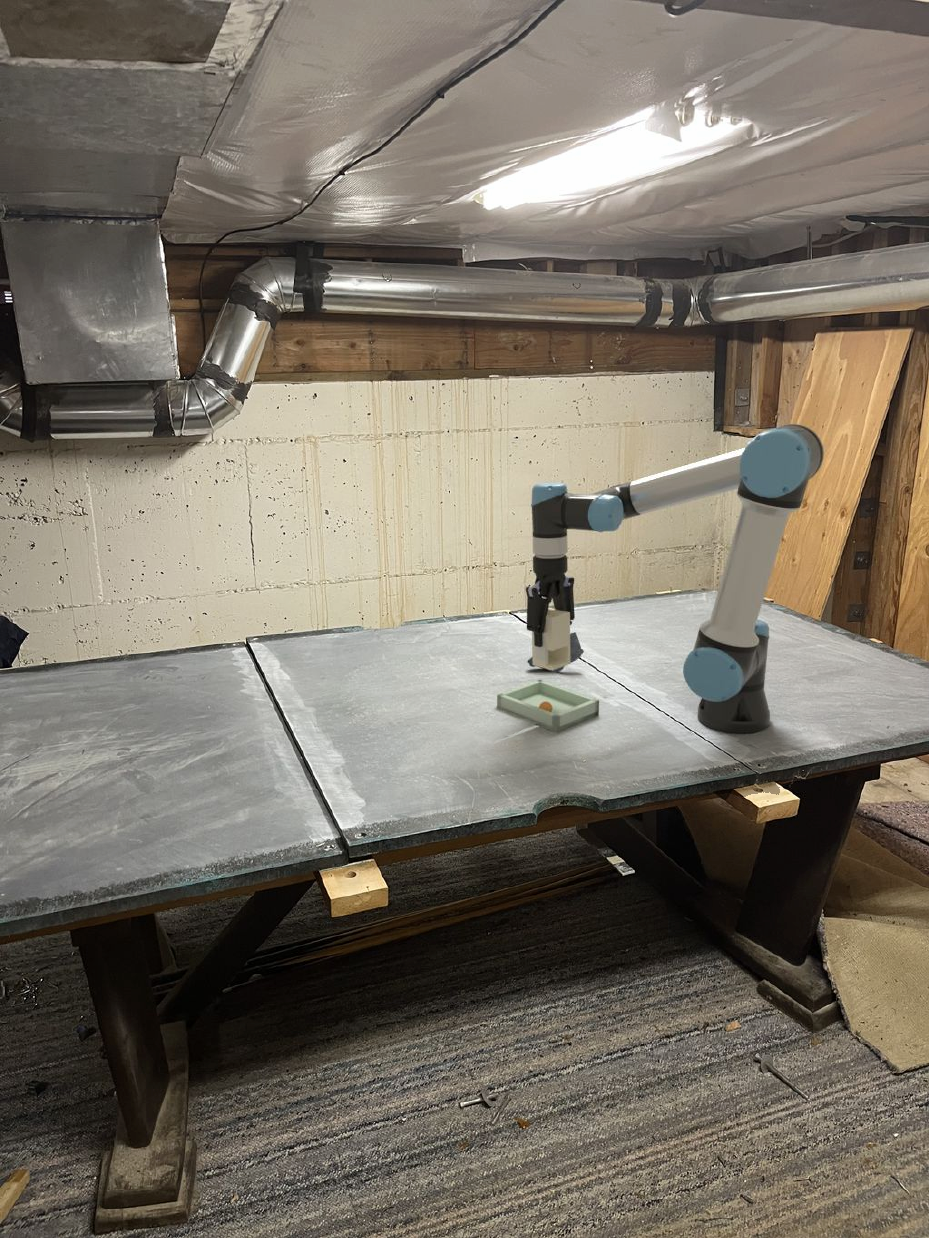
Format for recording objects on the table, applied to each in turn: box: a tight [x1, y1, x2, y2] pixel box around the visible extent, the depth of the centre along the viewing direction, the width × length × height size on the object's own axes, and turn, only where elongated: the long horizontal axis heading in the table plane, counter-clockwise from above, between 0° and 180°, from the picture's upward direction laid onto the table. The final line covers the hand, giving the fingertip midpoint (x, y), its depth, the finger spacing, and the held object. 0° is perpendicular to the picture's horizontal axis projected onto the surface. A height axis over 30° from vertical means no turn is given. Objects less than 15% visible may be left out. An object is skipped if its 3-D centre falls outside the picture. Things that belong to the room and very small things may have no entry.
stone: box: [527, 632, 585, 674], centre depth 226 cm, size 14×6×10 cm, turn 113°
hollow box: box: [531, 607, 571, 671], centre depth 200 cm, size 6×6×12 cm
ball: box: [539, 702, 553, 712], centre depth 197 cm, size 3×3×3 cm
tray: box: [496, 679, 600, 733], centre depth 201 cm, size 18×14×4 cm
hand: (551, 655), depth 201 cm, fingers closed on hollow box, 6 cm apart
